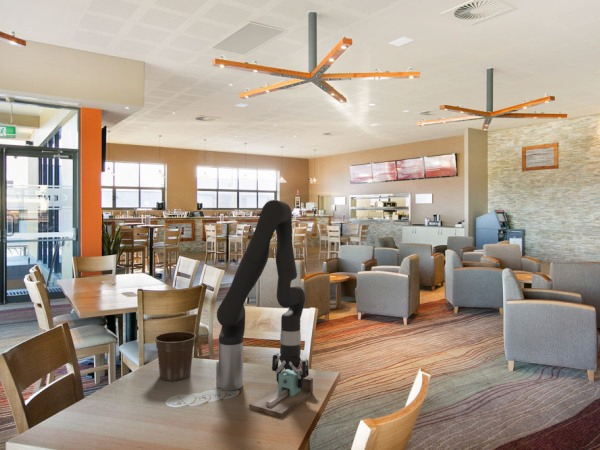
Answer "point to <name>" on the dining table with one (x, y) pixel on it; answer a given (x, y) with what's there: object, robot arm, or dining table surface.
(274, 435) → the dining table surface
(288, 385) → the cabinet block
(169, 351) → the plant pot
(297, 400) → the cleat board
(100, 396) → the dining table surface
